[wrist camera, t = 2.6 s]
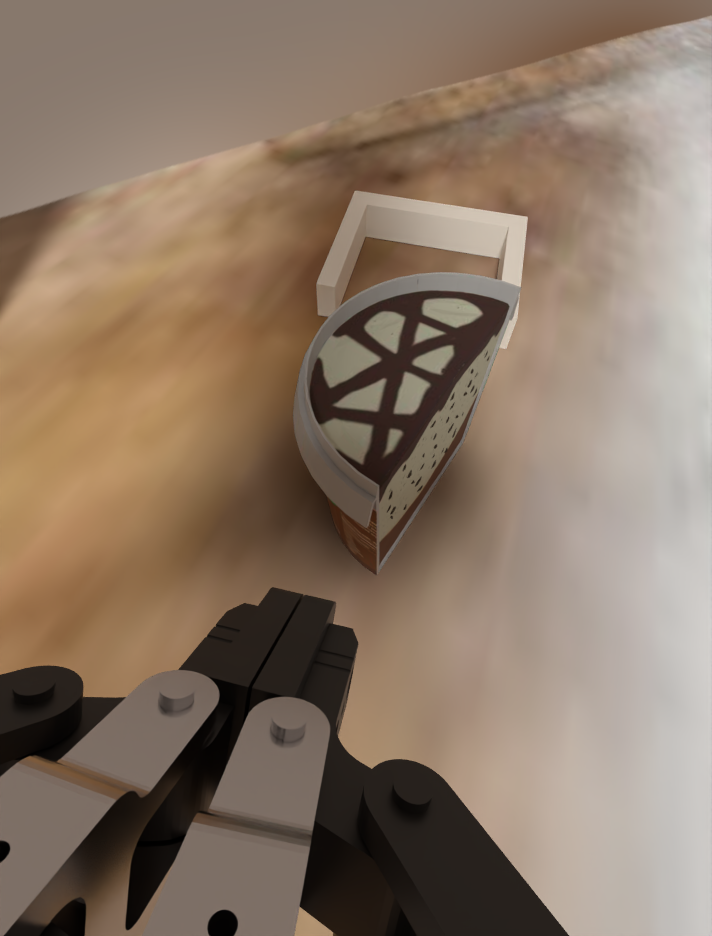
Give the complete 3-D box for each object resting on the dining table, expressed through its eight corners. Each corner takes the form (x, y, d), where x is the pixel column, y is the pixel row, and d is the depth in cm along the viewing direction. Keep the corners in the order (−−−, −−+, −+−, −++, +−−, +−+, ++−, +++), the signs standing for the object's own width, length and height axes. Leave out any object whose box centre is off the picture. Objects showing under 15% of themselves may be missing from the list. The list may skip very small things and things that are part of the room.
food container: (383, 379, 32) (398, 228, 23) (475, 424, 30) (526, 280, 22) (256, 535, 26) (214, 411, 18) (360, 600, 25) (369, 499, 16)
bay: (317, 314, 35) (316, 283, 32) (354, 222, 40) (355, 190, 38) (505, 349, 33) (517, 318, 31) (517, 248, 39) (527, 216, 37)
